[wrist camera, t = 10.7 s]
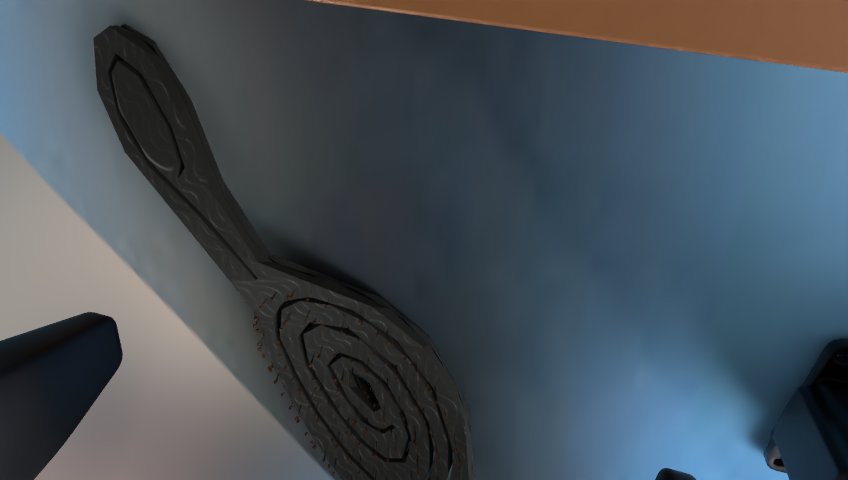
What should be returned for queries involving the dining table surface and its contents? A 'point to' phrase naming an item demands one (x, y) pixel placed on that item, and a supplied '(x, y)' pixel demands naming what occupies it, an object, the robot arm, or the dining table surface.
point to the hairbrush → (293, 294)
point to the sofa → (665, 24)
